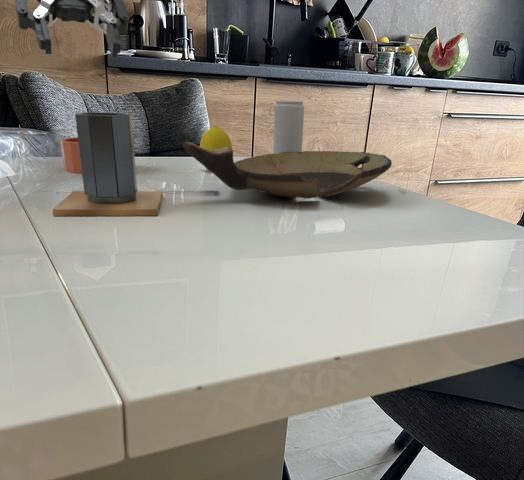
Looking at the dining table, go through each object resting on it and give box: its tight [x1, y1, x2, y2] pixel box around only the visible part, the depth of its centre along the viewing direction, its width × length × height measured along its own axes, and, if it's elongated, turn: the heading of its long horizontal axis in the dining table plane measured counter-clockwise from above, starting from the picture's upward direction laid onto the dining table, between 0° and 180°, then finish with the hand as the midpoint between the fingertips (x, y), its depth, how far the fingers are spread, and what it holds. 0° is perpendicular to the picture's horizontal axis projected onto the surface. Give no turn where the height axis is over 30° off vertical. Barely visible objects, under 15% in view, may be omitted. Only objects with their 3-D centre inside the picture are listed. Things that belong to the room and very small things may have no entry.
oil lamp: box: [182, 141, 393, 200], centre depth 78 cm, size 22×30×8 cm
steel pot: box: [74, 111, 138, 204], centre depth 67 cm, size 6×6×10 cm
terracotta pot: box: [59, 136, 82, 175], centre depth 92 cm, size 11×11×6 cm
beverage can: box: [272, 100, 305, 154], centre depth 91 cm, size 5×5×12 cm
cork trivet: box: [52, 190, 164, 217], centre depth 70 cm, size 12×12×1 cm
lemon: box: [199, 125, 233, 169], centre depth 93 cm, size 6×6×8 cm
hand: (82, 50), depth 72 cm, fingers open, 8 cm apart
